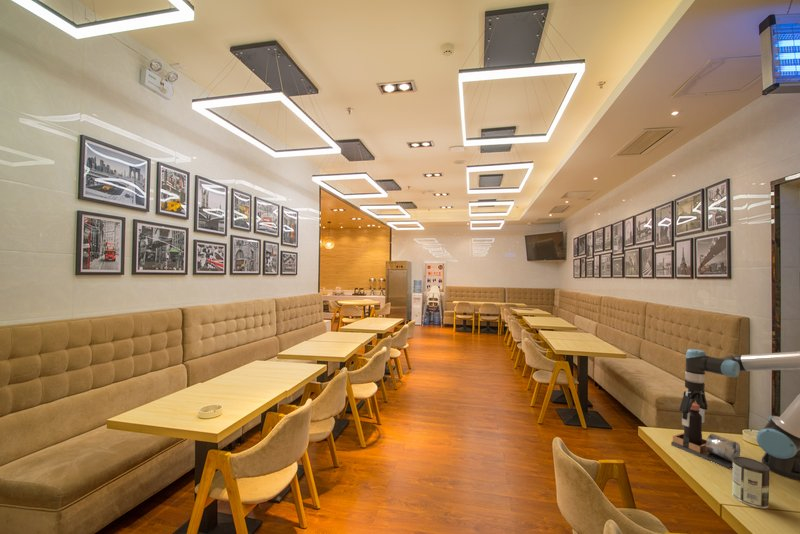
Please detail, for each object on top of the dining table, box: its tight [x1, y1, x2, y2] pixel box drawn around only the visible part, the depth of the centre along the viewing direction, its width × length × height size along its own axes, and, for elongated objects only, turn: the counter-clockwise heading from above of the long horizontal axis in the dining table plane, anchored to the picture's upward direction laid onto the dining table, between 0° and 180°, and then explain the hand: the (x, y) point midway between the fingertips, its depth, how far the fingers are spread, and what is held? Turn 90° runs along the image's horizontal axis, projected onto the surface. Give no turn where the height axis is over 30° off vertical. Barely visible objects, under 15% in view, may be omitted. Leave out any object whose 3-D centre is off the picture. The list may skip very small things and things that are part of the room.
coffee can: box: [731, 456, 771, 510], centre depth 135 cm, size 10×10×14 cm
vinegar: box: [683, 402, 703, 446], centre depth 176 cm, size 7×7×20 cm
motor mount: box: [670, 432, 741, 469], centre depth 170 cm, size 23×13×10 cm, turn 25°
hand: (693, 423), depth 175 cm, fingers open, 13 cm apart
